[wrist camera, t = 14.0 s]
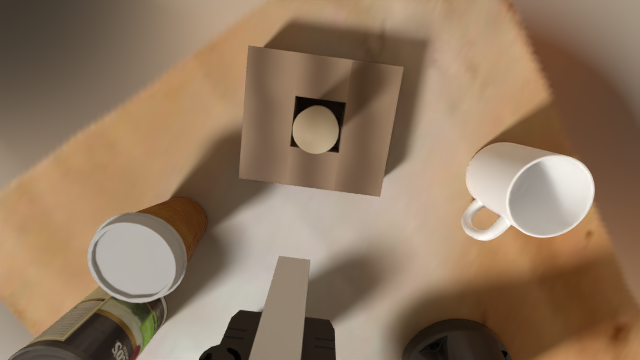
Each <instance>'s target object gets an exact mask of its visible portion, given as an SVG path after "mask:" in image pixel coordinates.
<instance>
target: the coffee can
mask: <svg viewBox="0 0 640 360" xmlns="http://www.w3.org/2000/svg"><path fill="white" fill-rule="evenodd" d="M166 315H167V305H166V301H165V298H164V296H163V297H160V298H157V299H155V300H152V301H149V302H143V303H132V302H128V301H124V300H121V299H118V298H116V297H114V296H112V295H110V294H109V293H107V292H106V291H105V290H103V289H102V288H101V287H100V286H99V287H98V288H97V289H95V290H94V291H93V292H92V293H91V294H89V295H88V296H87V297H86V298H84V299H83V300H82V301H81V302H80V303H78V304H77V305H76V306H75V307H73V308H72V309H71V310H70V311H69V312H67V313H66V314H65V315H64V316H62V317H61V318H60V319H59V320H58V321H56V322H55V323H54V324H53V325H51V326H50V327H49V328H48V329H46V330H45V331H44V332H43V333H42V334H40V335H39V336H38V337H37V338H35V339H34V340H33V341H32V342H30V343H29V344H28V345H27V346H26V347H24V348H22V349H20V350H19V351H18V352H16V353H15V354H14V355H13V356H11V357H10V358H9V359H8V360H136V359H137V358H138V356H139V355H140V354H141V352H142V351H143V350H144V348H145V347H146V346H147V344H148V343H149V342H150V340H151V339H152V337H153V336H154V335H155V334H156V332H157V331H158V330H159V329H160V327H161V326H162V325H163V323H164V321H165V319H166Z"/></svg>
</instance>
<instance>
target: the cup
mask: <svg viewBox="0 0 640 360" xmlns="http://www.w3.org/2000/svg"><path fill="white" fill-rule="evenodd" d="M466 184H467V188H468V190H469V192H470V194H471V195H472V196H473V197H474V199H475V200H474V201H473V202H472V203H471V204H470V205H469V206H468V208H467V209H466V210H465V212H464V214H463V216H462V219H461V223H462V227H463V229H464V231H465V232H466V233H467V234H468V235H470V236H471V237H473V238H475V239H478V240H485V241H486V240H491V239H494V238H496V237H498V236H499V235H500V234H502V233H503V232H504V231H505V230H506V229H507V228H508V227H509V226H510V225H513V226H515V227H516V228H517V229H519V230H520V231H522V232H524V233H525V234H528V235H531V236H535V237H552V236H556V235H560V234H562V233H565V232H567V231H569V230H570V229H572V228H573V227H575V226H576V225H577V224H578V223H579V222H580V221H581V220H582V219H583V218H584V217H585V216H586V214H587V213H588V211H589V209H590V207H591V205H592V202H593V198H594V192H595V188H594V181H593V178H592V175H591V173H590V172H589V170H588V169H587V167H586V166H585V165H584V164H583V163H581V162H580V161H579V160H577V159H575V158H573V157H570V156H566V155H562V154H558V153H554V152H549V151H545V150H541V149H537V148H532V147H528V146H524V145H520V144H515V143H509V142H499V143H494V144H491V145H488V146H486V147H485V148H483V149H481V150H480V151H479V152H478V153H477V154H476V155H475V156H474V157H473V158H472V160H471V161H470V163H469V165H468V168H467V171H466ZM483 207H486V208H488V209H489V210H491V211H492V212H494V213H495V214H497V215H498V216H500V217H499V218H498V219H497V220H496V221H495V223H494V224H493V225H492V226H490V227H489V228H488V229H486V230H479V229H476V228H475V227H473V226H472V224H471V221H472V218H473V217H474V216H475V214H476V213H477V212H479V211H480V210H481V209H482V208H483Z"/></svg>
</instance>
